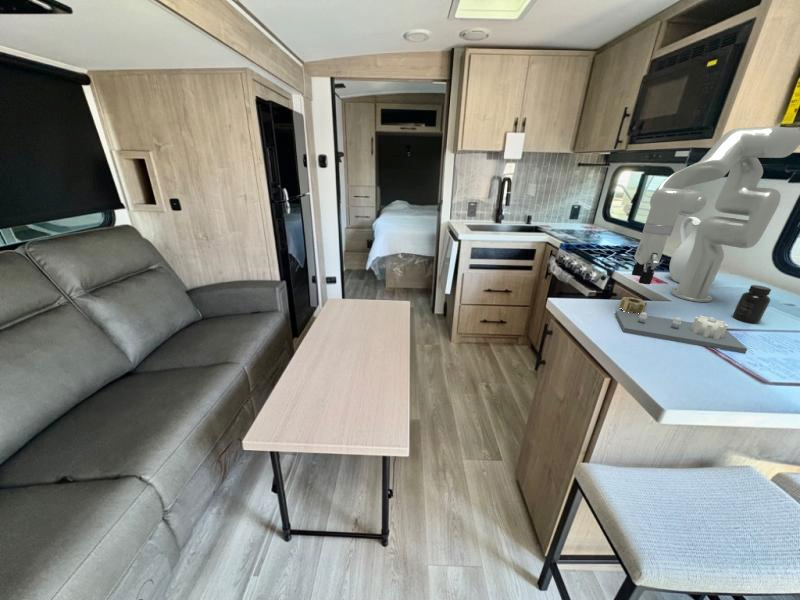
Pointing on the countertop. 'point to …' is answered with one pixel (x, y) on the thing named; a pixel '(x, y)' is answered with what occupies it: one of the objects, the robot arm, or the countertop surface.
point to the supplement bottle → (752, 304)
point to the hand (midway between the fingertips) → (640, 279)
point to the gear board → (681, 330)
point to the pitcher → (683, 249)
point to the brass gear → (632, 305)
